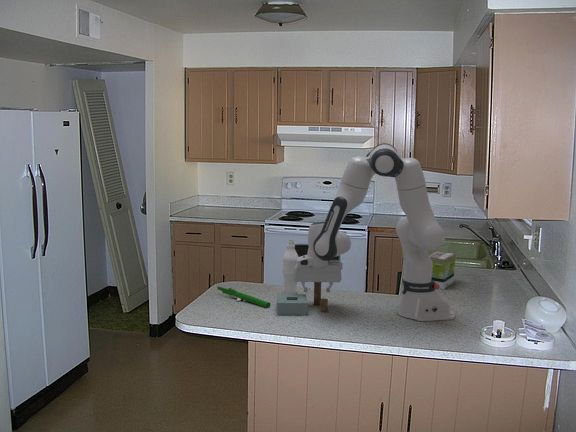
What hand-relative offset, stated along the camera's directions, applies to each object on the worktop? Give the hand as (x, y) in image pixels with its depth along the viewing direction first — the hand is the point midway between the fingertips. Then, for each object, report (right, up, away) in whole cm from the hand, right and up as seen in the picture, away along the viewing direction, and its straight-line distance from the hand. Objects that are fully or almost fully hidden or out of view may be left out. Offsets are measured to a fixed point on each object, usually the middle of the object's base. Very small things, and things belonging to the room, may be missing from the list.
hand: (316, 291), depth 255 cm
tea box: (+60, -1, +35) cm, 70 cm away
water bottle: (-11, -4, +13) cm, 17 cm away
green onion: (-32, -5, +5) cm, 33 cm away
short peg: (+3, -7, -8) cm, 11 cm away
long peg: (0, -6, +1) cm, 6 cm away
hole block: (-10, -7, -7) cm, 14 cm away
